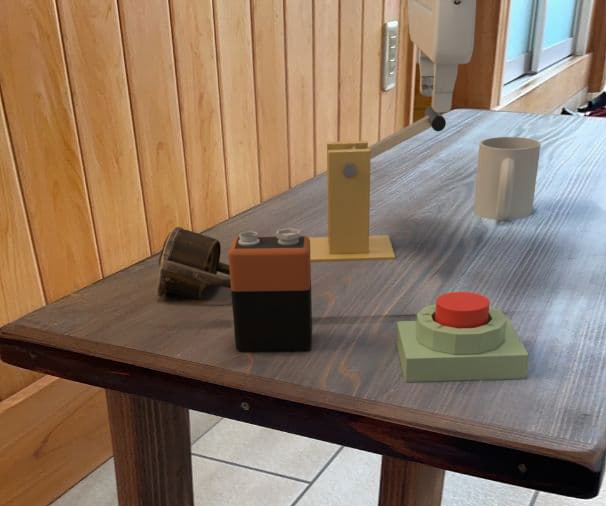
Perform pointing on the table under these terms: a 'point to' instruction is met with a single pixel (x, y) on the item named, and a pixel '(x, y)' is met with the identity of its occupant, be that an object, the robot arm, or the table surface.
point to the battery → (271, 291)
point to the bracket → (349, 208)
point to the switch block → (460, 349)
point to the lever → (408, 132)
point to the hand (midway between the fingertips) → (434, 103)
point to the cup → (506, 177)
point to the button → (462, 310)
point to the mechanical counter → (190, 264)
